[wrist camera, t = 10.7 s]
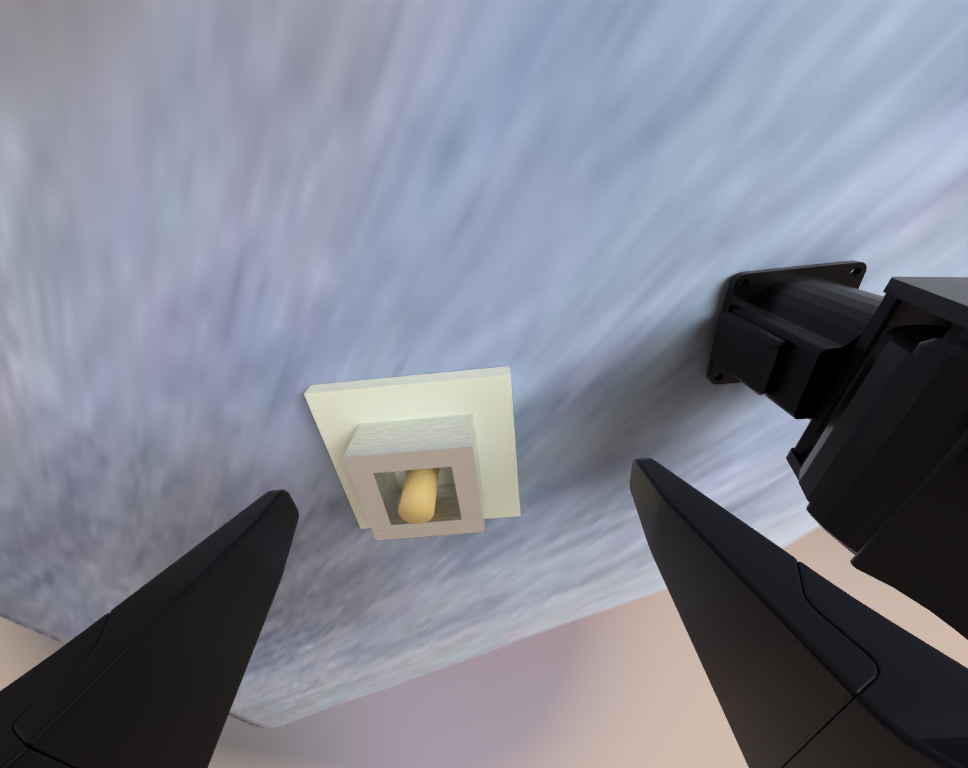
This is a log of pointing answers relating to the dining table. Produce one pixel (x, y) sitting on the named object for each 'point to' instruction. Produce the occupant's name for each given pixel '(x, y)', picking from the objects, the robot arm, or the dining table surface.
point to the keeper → (426, 398)
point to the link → (411, 449)
